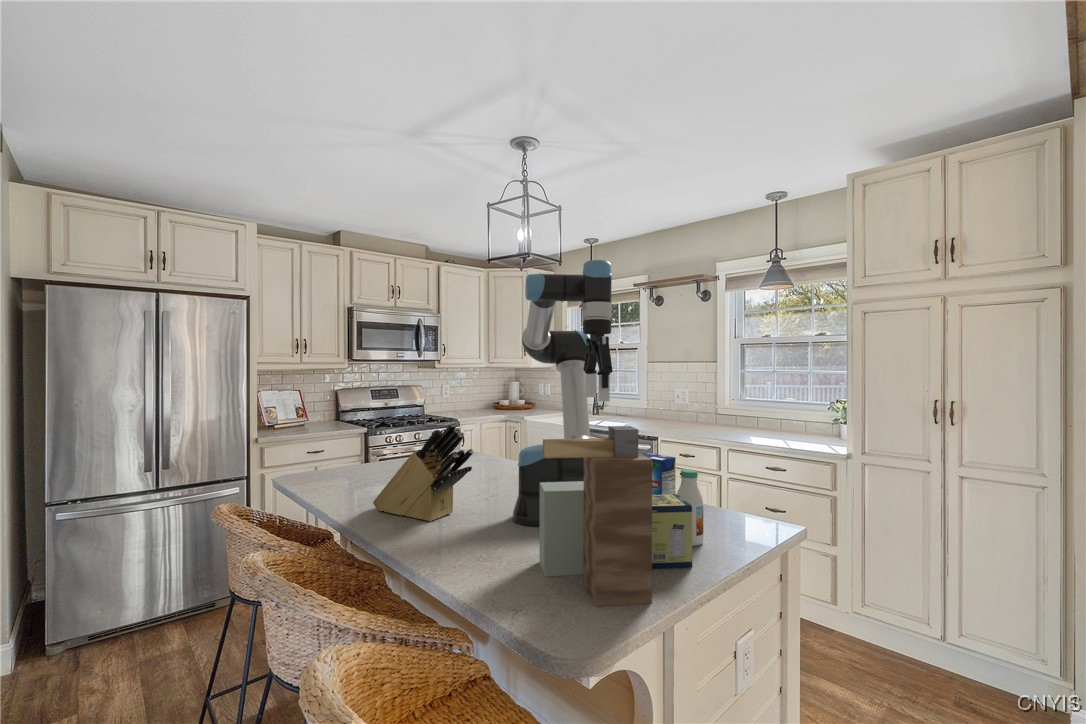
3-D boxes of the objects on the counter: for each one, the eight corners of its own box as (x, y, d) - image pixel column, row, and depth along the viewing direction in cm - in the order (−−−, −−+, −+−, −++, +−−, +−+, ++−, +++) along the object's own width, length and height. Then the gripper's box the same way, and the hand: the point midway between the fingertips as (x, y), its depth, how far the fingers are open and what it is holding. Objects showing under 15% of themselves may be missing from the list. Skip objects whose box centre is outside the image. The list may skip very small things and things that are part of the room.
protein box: (621, 554, 135) (621, 495, 135) (678, 552, 136) (678, 493, 136) (631, 570, 124) (631, 506, 124) (693, 568, 125) (693, 504, 125)
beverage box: (661, 536, 148) (661, 460, 148) (632, 526, 157) (632, 454, 157) (675, 531, 153) (675, 457, 153) (646, 522, 161) (646, 452, 161)
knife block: (453, 528, 155) (453, 426, 155) (371, 511, 173) (372, 419, 173) (476, 518, 165) (476, 422, 165) (396, 503, 182) (396, 416, 182)
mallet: (542, 454, 113) (542, 427, 113) (629, 452, 116) (629, 425, 116) (545, 459, 107) (546, 430, 107) (638, 457, 110) (638, 429, 110)
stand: (583, 581, 117) (583, 451, 117) (634, 579, 119) (634, 449, 119) (595, 606, 105) (596, 461, 105) (651, 603, 107) (652, 459, 107)
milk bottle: (688, 548, 139) (688, 474, 139) (669, 539, 145) (669, 469, 145) (709, 543, 142) (709, 471, 142) (689, 535, 149) (689, 466, 149)
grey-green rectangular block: (539, 561, 129) (539, 482, 129) (589, 559, 131) (590, 481, 131) (544, 576, 120) (544, 491, 120) (598, 573, 122) (598, 489, 122)
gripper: (573, 322, 148) (573, 396, 148) (595, 314, 123) (595, 403, 123) (598, 322, 149) (598, 395, 149) (625, 315, 124) (625, 402, 124)
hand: (596, 399), depth 136 cm, fingers open, 13 cm apart
